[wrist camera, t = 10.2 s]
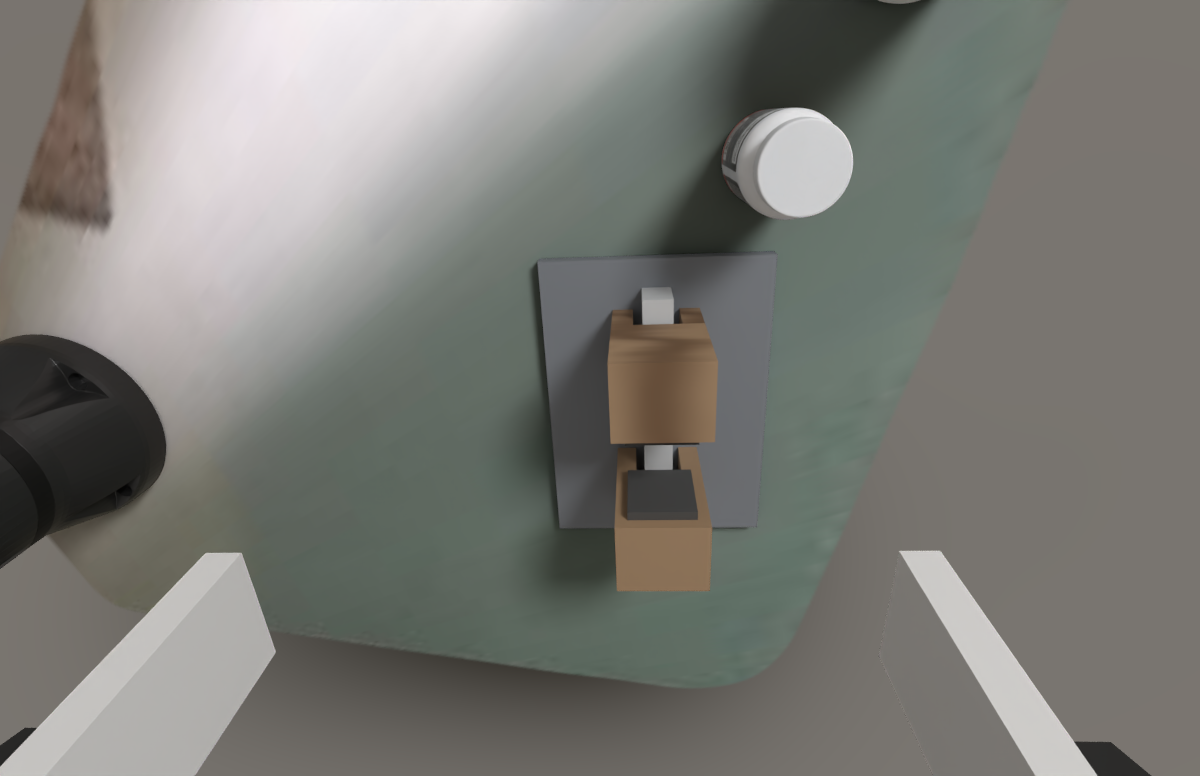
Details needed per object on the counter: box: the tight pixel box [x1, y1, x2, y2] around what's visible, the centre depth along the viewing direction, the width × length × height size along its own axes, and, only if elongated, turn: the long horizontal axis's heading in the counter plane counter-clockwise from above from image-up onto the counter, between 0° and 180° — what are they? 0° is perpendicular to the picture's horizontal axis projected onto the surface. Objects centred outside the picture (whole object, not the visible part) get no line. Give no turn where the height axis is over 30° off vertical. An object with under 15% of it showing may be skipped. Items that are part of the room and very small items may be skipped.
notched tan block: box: [608, 308, 718, 446], centre depth 39 cm, size 6×6×10 cm
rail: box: [537, 251, 778, 591], centre depth 42 cm, size 16×22×11 cm
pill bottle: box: [722, 107, 853, 220], centre depth 35 cm, size 6×6×10 cm
